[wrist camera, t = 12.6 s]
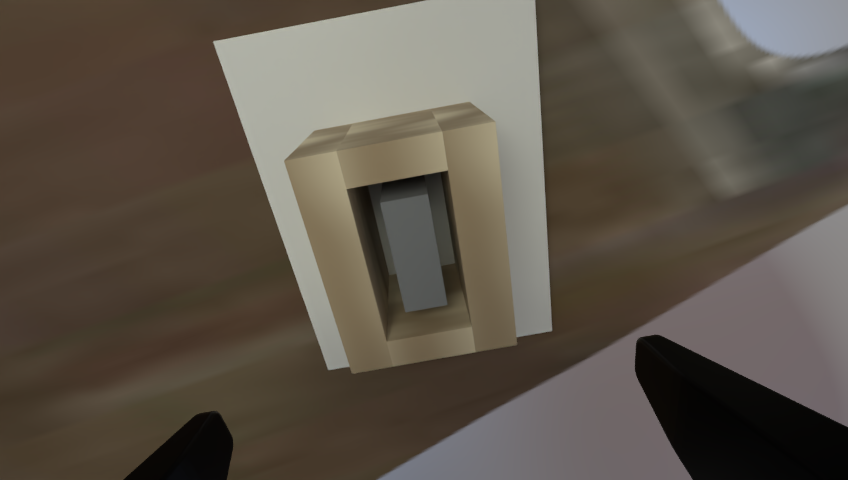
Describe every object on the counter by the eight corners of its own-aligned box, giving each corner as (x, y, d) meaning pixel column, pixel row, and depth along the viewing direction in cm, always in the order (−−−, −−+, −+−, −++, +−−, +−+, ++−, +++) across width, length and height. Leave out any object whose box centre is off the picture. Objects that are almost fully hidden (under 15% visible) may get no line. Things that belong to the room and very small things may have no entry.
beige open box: (469, 101, 17) (495, 121, 12) (490, 278, 20) (517, 344, 16) (314, 130, 17) (283, 160, 12) (362, 301, 21) (352, 373, 16)
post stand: (545, 319, 23) (587, 395, 18) (331, 357, 23) (312, 442, 18) (526, -17, 16) (583, -46, 11) (223, 41, 16) (147, 39, 11)
